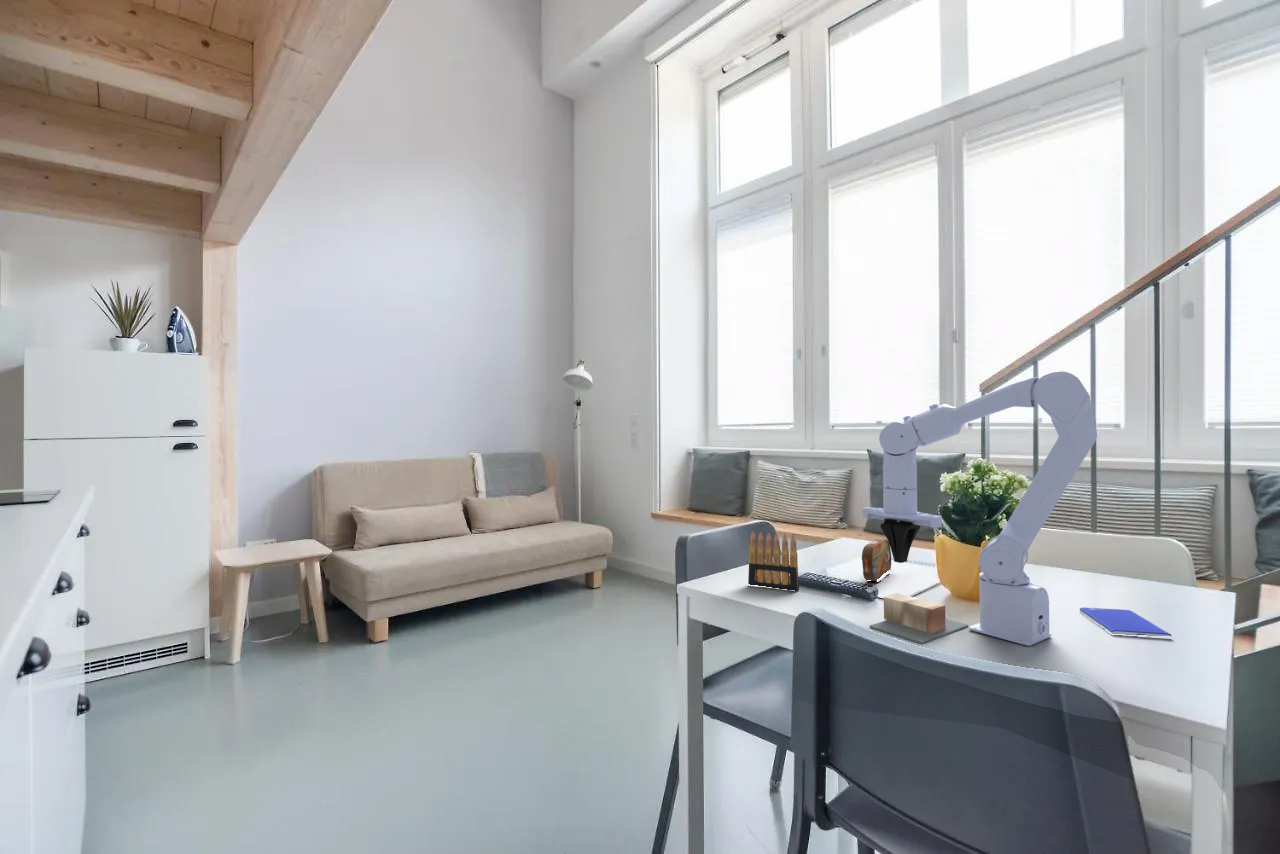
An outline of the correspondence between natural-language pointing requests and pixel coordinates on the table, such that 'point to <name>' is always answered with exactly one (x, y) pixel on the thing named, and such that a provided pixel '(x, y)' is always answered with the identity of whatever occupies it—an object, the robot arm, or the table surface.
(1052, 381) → the robot arm
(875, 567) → the tin
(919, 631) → the mat
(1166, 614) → the table surface
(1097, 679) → the table surface
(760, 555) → the ammunition clip
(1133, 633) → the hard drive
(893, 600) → the block
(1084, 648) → the table surface
